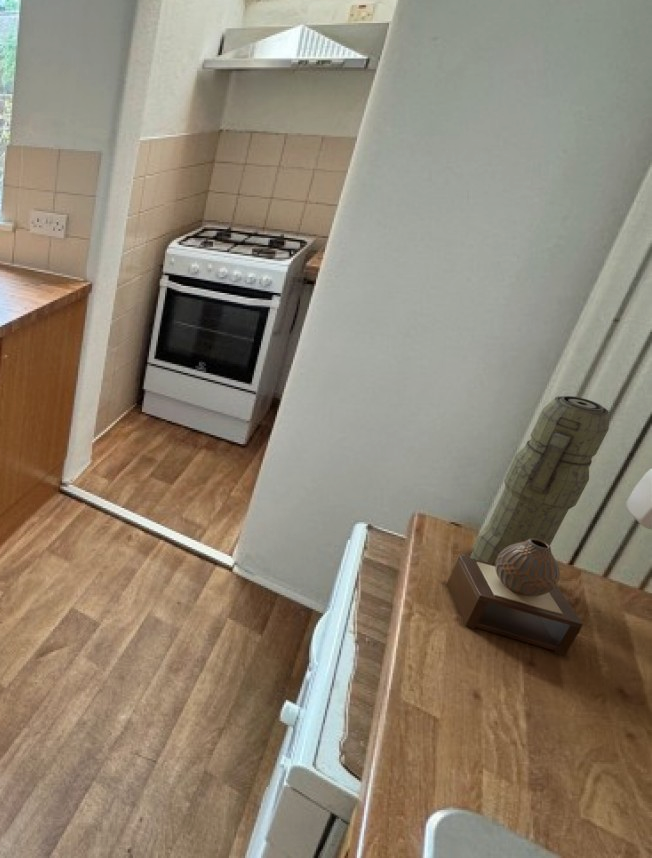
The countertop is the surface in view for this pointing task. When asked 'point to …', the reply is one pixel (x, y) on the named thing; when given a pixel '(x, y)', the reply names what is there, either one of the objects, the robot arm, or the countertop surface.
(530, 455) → the carved stone statue
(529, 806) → the countertop surface
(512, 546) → the vase
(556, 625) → the brown wooden box
